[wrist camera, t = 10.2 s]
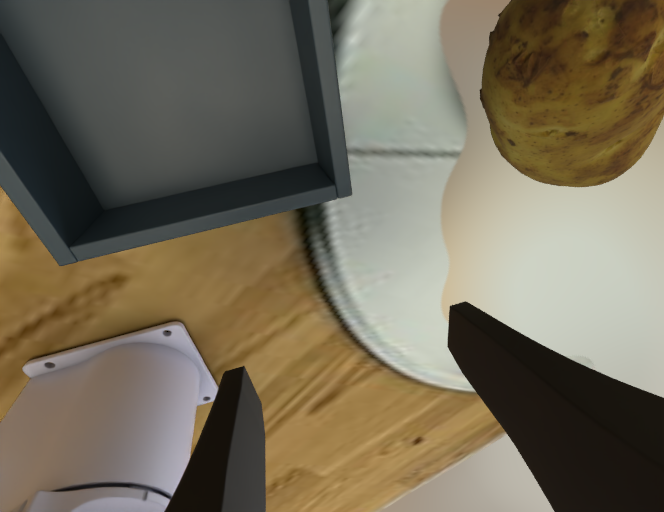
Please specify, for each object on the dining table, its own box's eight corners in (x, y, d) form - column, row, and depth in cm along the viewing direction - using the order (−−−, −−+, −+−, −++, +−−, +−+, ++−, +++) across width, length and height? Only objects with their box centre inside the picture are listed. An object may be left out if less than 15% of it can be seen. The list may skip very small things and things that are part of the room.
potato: (485, 217, 23) (588, 280, 16) (418, 23, 16) (549, -10, 9) (592, 148, 22) (748, 183, 15) (571, -89, 15) (839, -216, 8)
